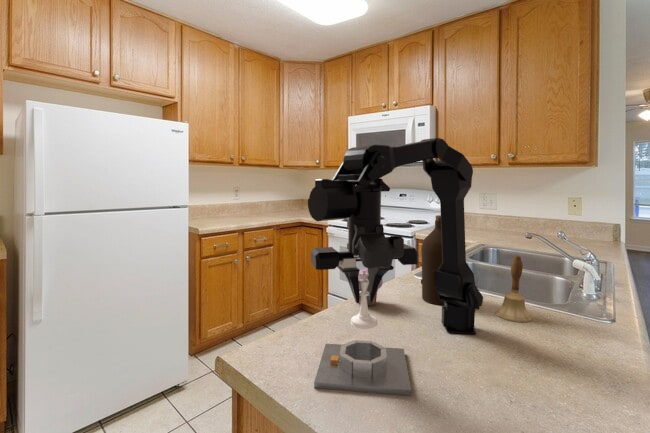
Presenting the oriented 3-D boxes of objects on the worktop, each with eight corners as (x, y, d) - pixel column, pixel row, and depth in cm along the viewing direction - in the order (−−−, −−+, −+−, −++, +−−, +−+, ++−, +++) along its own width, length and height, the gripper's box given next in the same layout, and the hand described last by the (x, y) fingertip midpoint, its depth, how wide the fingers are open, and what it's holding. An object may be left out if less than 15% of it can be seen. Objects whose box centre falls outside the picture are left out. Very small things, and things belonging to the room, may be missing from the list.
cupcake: (351, 308, 94) (351, 273, 93) (350, 298, 102) (351, 265, 101) (384, 309, 93) (384, 273, 92) (380, 298, 102) (381, 265, 101)
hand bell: (534, 315, 89) (538, 255, 88) (528, 325, 83) (532, 261, 81) (499, 307, 94) (502, 251, 93) (491, 316, 88) (494, 256, 87)
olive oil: (465, 300, 100) (468, 216, 97) (443, 309, 93) (446, 218, 91) (433, 291, 108) (436, 213, 106) (412, 298, 102) (414, 215, 99)
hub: (403, 353, 69) (403, 336, 69) (410, 395, 55) (411, 375, 55) (325, 348, 72) (325, 332, 71) (314, 387, 58) (314, 368, 57)
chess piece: (381, 327, 61) (381, 273, 60) (354, 330, 60) (353, 274, 59) (373, 317, 65) (373, 266, 64) (348, 319, 65) (347, 267, 64)
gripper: (322, 224, 51) (322, 325, 52) (435, 221, 55) (433, 314, 56) (309, 217, 62) (310, 300, 63) (405, 214, 66) (403, 293, 67)
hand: (363, 302), depth 62 cm, fingers closed on chess piece, 2 cm apart
